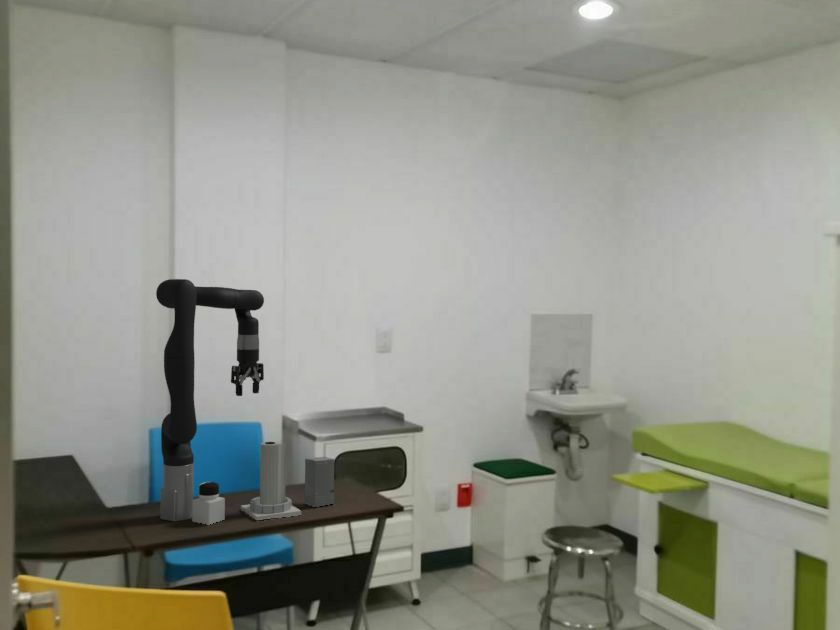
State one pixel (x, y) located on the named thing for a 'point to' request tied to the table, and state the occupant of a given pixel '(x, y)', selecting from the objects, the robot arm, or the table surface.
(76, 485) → the table surface
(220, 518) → the medicine bottle
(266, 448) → the paper towel roll
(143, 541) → the table surface
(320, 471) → the skincare box
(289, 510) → the collar socket
